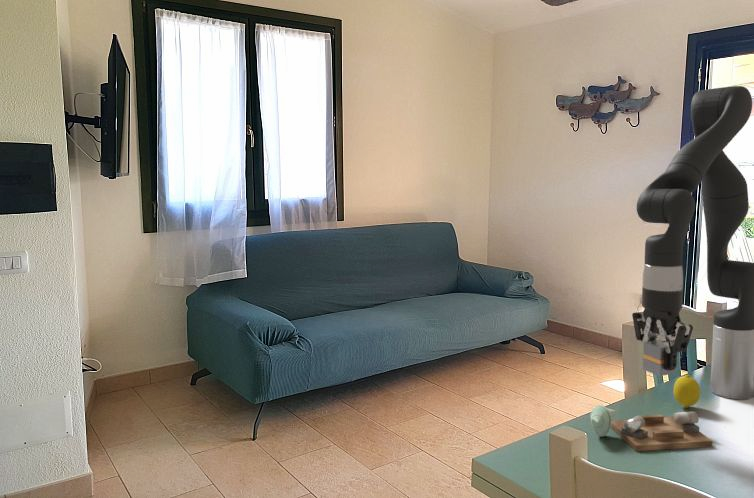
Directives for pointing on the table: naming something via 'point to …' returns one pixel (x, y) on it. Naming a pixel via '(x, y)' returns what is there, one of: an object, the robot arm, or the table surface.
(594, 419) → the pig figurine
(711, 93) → the robot arm
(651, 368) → the grey striped block
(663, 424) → the wooden assembly base
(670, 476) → the table surface
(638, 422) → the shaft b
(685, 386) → the lemon
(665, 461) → the table surface
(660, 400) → the table surface
